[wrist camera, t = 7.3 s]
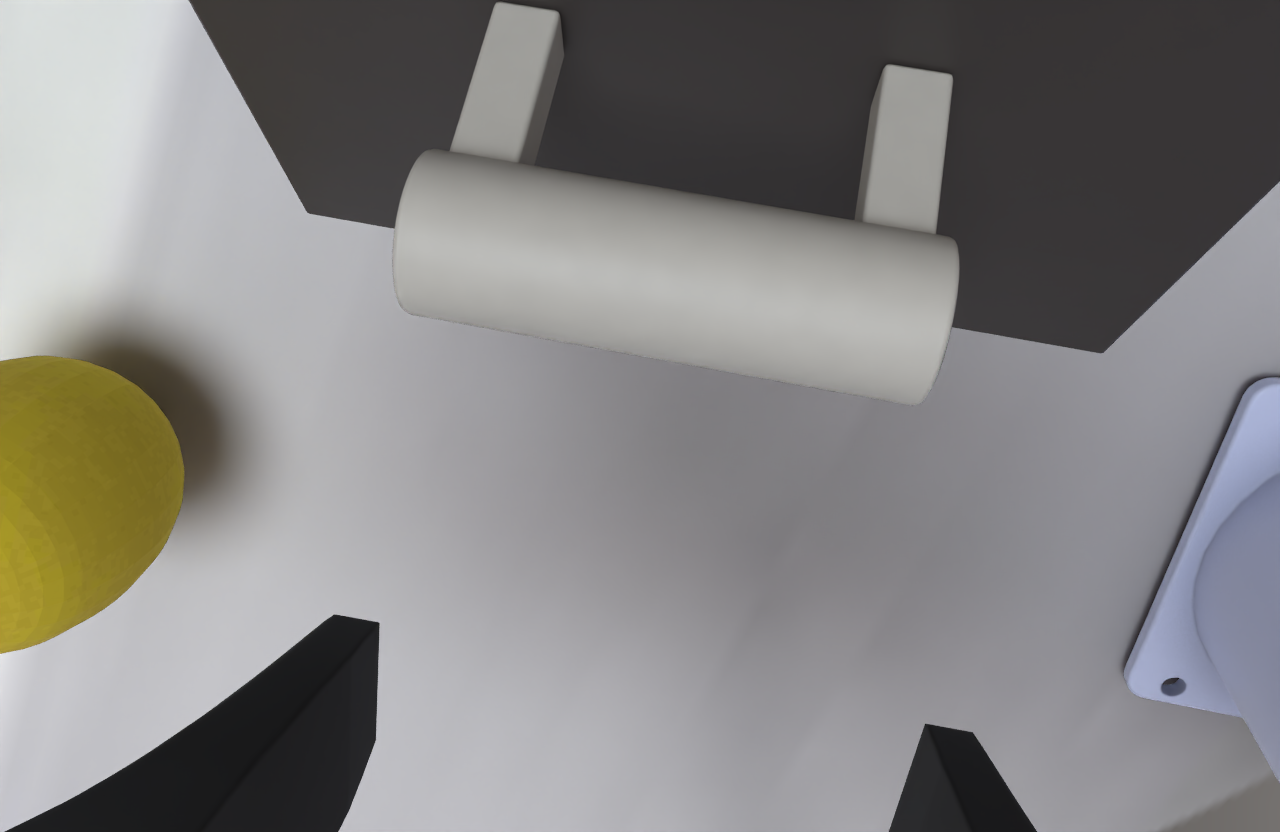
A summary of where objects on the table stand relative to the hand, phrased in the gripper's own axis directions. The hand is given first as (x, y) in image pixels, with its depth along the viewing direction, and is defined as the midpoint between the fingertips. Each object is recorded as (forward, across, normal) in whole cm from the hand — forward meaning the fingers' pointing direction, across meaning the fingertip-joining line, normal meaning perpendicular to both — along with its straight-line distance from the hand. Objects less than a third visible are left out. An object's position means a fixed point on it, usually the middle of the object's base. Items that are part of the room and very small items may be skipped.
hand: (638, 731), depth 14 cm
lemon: (+11, +13, +3) cm, 17 cm away
